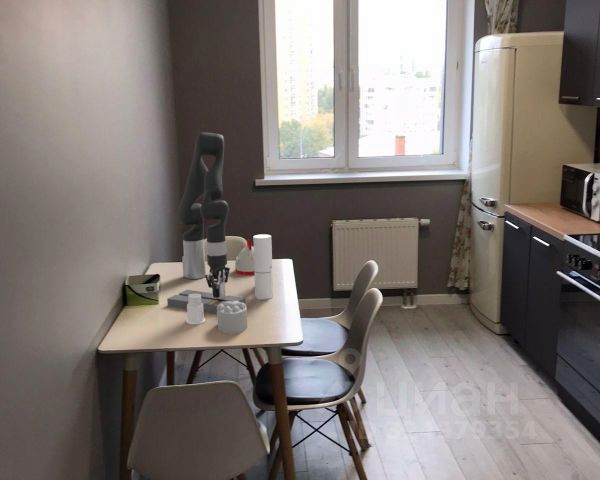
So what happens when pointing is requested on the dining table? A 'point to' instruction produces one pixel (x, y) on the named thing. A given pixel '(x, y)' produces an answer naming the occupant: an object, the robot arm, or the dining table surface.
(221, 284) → the fader knob
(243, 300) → the fader console
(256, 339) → the dining table surface
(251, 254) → the kitchen timer
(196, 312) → the downlight
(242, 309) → the lumpy-topped squat cylinder
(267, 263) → the cylindrical container
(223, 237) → the robot arm
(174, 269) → the dining table surface
